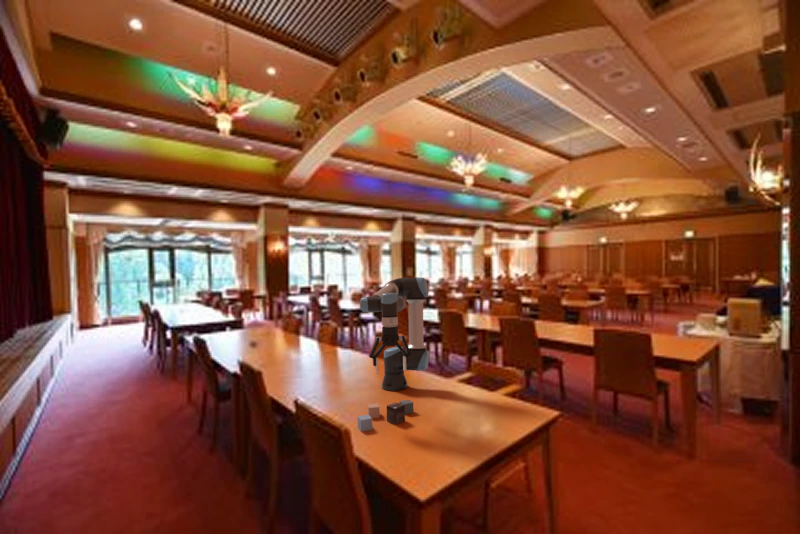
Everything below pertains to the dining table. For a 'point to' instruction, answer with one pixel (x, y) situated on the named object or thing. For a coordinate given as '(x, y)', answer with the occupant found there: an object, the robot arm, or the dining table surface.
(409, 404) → the cube charcoal
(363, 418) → the cube slate
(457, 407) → the dining table surface
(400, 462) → the dining table surface
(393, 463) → the dining table surface
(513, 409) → the dining table surface
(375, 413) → the cube terracotta
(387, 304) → the robot arm
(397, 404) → the box
